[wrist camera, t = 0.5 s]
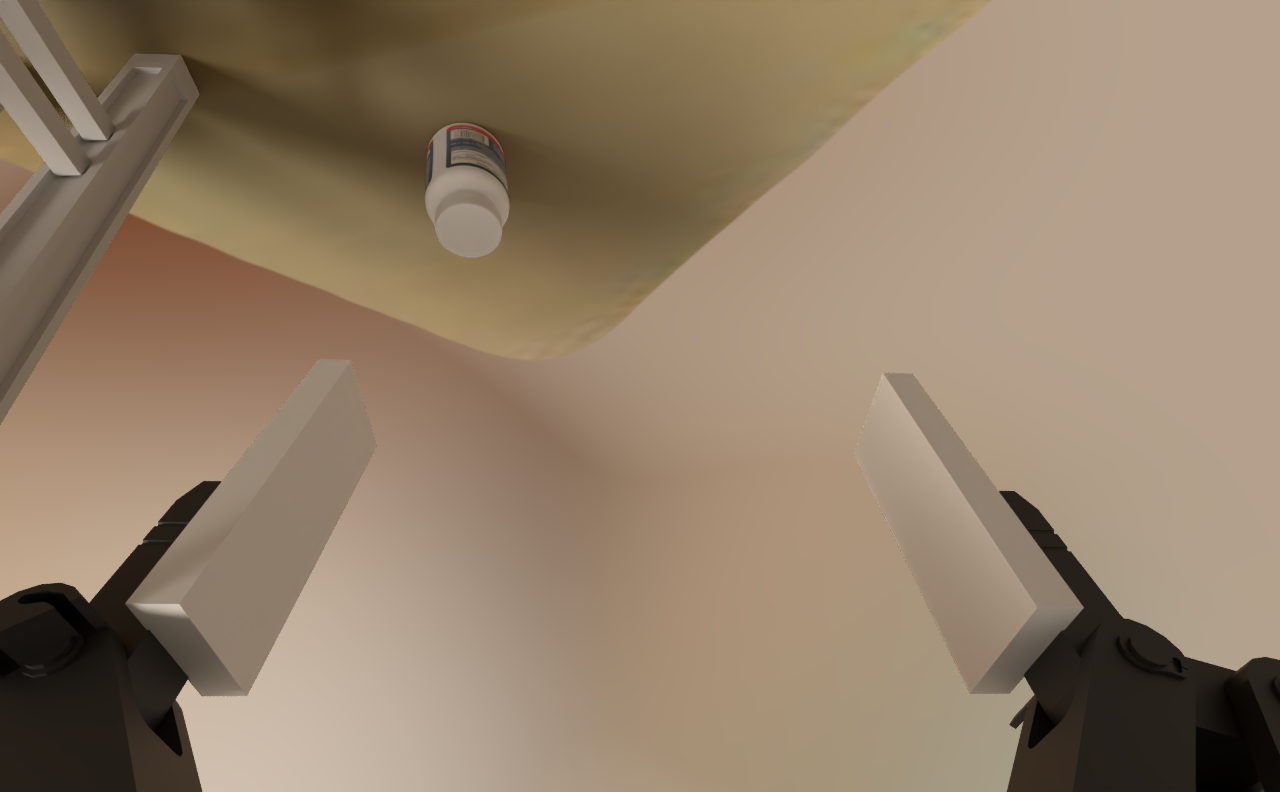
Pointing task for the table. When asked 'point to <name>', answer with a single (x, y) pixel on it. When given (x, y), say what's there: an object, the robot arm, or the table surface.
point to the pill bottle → (466, 189)
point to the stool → (72, 176)
